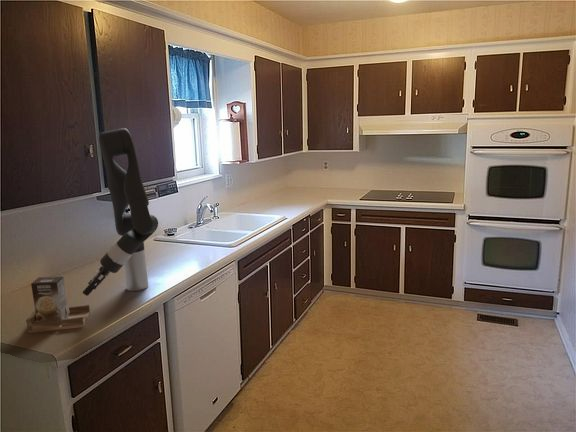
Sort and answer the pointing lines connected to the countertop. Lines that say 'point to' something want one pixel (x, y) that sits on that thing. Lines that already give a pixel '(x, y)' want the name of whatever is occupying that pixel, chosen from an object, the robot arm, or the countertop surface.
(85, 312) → the wooden tray
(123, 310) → the countertop surface
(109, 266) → the robot arm
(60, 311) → the coffee box
